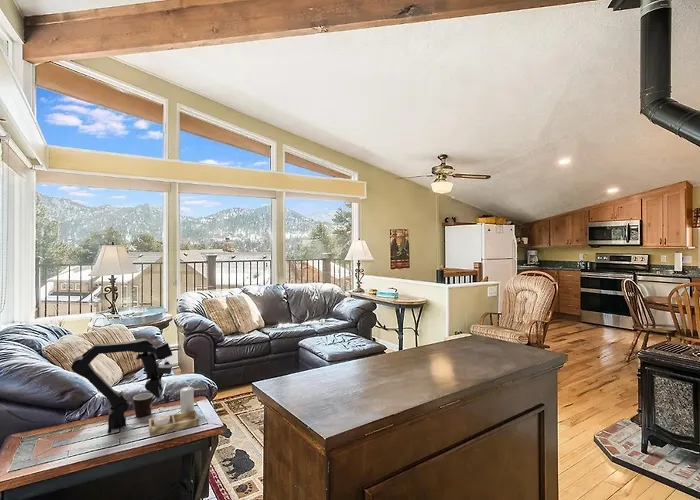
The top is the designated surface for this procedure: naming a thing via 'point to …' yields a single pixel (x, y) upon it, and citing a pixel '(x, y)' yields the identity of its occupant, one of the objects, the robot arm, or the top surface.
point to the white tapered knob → (187, 399)
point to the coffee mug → (143, 404)
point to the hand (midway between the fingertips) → (159, 393)
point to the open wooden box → (175, 422)
